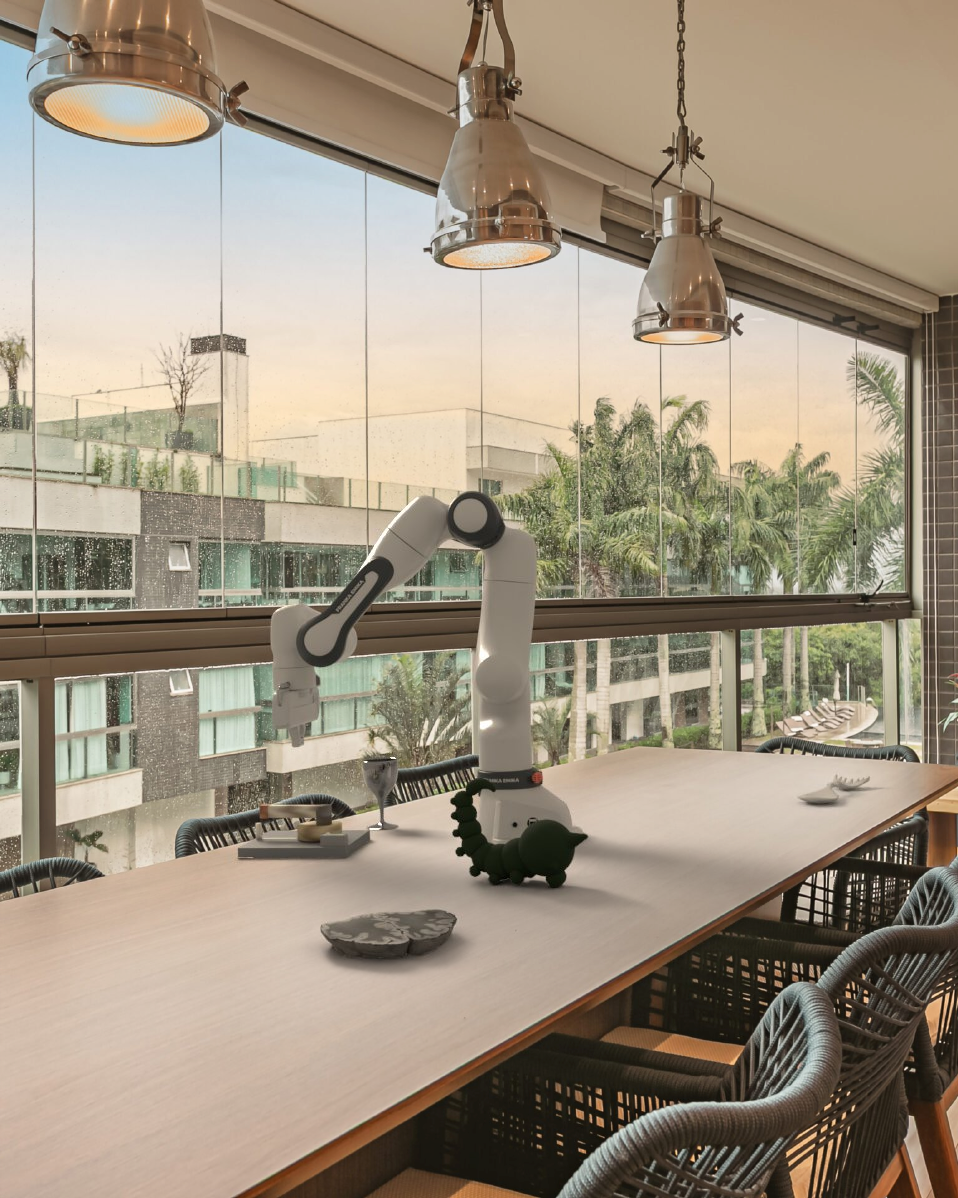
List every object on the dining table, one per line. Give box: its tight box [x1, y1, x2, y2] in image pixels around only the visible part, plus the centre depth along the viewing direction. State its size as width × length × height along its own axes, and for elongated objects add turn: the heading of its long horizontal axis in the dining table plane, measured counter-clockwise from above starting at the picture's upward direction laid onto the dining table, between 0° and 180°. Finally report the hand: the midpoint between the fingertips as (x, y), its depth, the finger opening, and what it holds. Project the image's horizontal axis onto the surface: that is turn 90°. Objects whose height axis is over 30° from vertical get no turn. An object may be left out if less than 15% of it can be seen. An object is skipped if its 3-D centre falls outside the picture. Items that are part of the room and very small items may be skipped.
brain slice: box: [320, 909, 458, 960], centre depth 159 cm, size 20×17×3 cm
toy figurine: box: [449, 777, 589, 888], centre depth 193 cm, size 9×19×25 cm
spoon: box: [796, 773, 871, 805], centre depth 269 cm, size 9×32×4 cm, turn 145°
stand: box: [237, 822, 371, 859], centre depth 230 cm, size 22×18×5 cm
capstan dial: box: [258, 803, 343, 842], centre depth 230 cm, size 17×9×6 cm, turn 76°
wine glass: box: [361, 756, 399, 831], centre depth 251 cm, size 8×8×15 cm
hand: (298, 746), depth 239 cm, fingers closed
